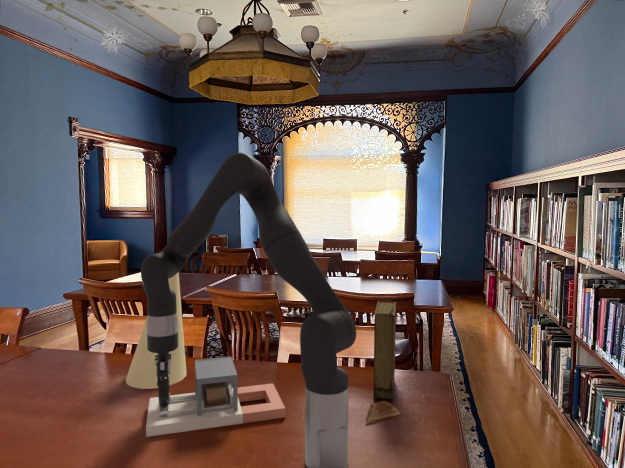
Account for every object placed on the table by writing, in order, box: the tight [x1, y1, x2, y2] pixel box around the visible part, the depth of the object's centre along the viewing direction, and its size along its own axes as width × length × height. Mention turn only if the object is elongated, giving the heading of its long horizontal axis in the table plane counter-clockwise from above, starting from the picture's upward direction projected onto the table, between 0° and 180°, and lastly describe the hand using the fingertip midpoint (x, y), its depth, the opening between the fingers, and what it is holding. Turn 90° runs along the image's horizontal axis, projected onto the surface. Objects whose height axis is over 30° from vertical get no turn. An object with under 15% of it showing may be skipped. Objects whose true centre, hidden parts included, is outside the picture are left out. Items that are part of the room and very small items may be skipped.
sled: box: [157, 376, 233, 417], centre depth 118 cm, size 9×19×8 cm, turn 107°
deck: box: [145, 383, 286, 438], centre depth 120 cm, size 16×34×2 cm, turn 106°
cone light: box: [125, 271, 187, 390], centre depth 145 cm, size 25×18×35 cm
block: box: [206, 382, 226, 406], centre depth 120 cm, size 5×5×5 cm
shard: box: [365, 400, 401, 425], centre depth 120 cm, size 11×8×2 cm
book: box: [372, 300, 397, 402], centre depth 133 cm, size 16×6×25 cm, turn 168°
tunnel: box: [194, 356, 238, 416], centre depth 121 cm, size 14×10×10 cm
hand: (164, 392), depth 116 cm, fingers open, 8 cm apart
